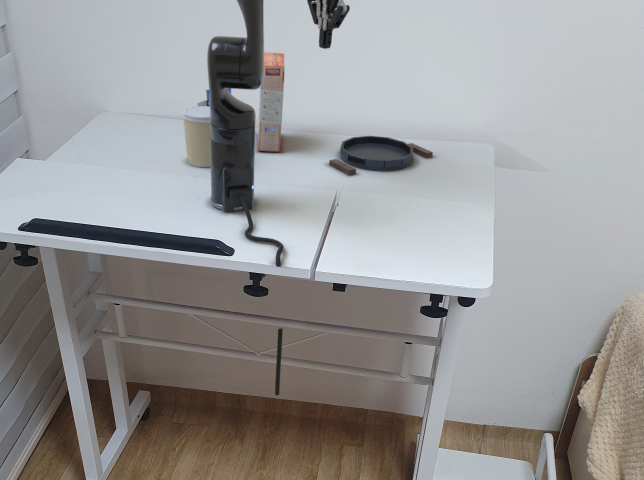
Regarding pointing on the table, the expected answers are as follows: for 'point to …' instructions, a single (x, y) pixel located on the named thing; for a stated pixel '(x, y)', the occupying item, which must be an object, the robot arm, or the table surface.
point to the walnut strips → (351, 170)
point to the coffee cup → (198, 135)
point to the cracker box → (271, 103)
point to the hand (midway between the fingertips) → (324, 47)
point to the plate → (376, 153)
